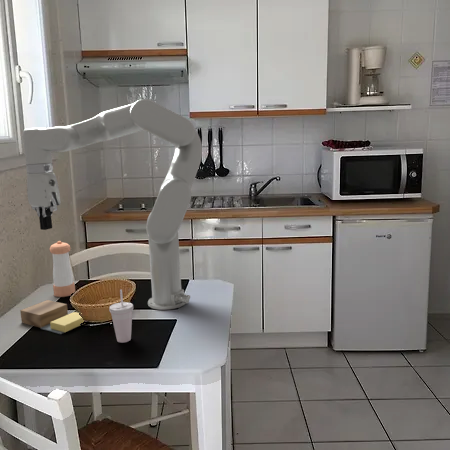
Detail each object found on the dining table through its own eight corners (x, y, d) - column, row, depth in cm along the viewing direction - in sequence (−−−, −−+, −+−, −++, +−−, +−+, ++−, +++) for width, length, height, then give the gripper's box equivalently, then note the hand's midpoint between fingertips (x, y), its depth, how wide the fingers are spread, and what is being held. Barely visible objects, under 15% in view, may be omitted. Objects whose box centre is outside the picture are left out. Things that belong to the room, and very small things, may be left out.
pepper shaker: (54, 291, 179) (49, 239, 175) (75, 289, 180) (70, 238, 177) (53, 298, 172) (47, 244, 168) (75, 295, 173) (69, 242, 170)
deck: (68, 316, 154) (66, 304, 153) (41, 327, 145) (39, 315, 145) (48, 311, 158) (47, 299, 158) (21, 322, 150) (20, 310, 149)
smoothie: (139, 335, 137) (136, 287, 134) (129, 345, 131) (125, 295, 128) (119, 334, 139) (115, 286, 136) (107, 343, 133) (103, 293, 130)
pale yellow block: (88, 315, 148) (88, 321, 148) (74, 311, 151) (74, 318, 151) (64, 325, 140) (65, 332, 141) (50, 322, 143) (50, 328, 144)
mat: (89, 320, 149) (89, 319, 149) (60, 334, 140) (60, 333, 140) (70, 316, 154) (69, 315, 154) (40, 328, 145) (40, 327, 145)
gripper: (66, 168, 149) (72, 228, 152) (34, 168, 156) (40, 225, 160) (46, 171, 142) (52, 233, 146) (13, 170, 150) (20, 229, 154)
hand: (46, 228), depth 153 cm, fingers closed
